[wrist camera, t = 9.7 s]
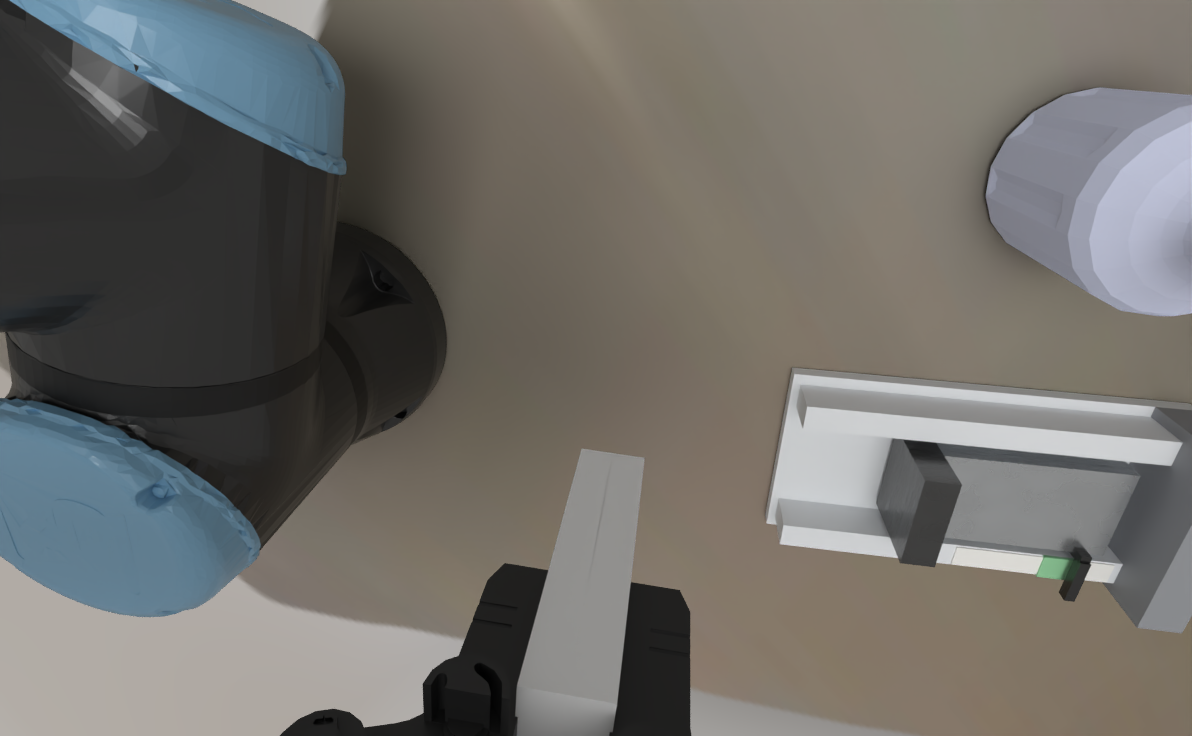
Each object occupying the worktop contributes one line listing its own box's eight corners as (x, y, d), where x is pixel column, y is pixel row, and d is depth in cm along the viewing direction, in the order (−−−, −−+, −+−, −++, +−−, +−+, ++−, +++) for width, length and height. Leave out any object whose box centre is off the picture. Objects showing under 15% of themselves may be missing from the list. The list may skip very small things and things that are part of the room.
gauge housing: (765, 514, 49) (775, 582, 42) (792, 367, 44) (808, 420, 37) (1115, 554, 46) (1181, 633, 40) (1188, 403, 41) (1277, 466, 35)
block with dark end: (866, 537, 47) (888, 600, 41) (896, 427, 43) (925, 481, 38) (1062, 560, 45) (1111, 627, 40) (1111, 448, 42) (1173, 507, 36)
